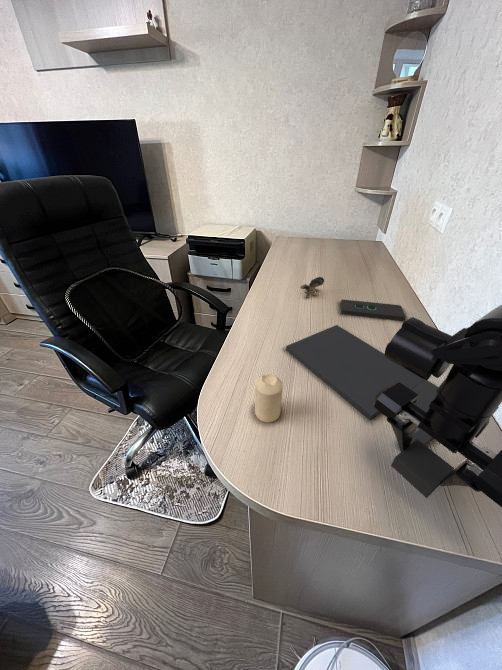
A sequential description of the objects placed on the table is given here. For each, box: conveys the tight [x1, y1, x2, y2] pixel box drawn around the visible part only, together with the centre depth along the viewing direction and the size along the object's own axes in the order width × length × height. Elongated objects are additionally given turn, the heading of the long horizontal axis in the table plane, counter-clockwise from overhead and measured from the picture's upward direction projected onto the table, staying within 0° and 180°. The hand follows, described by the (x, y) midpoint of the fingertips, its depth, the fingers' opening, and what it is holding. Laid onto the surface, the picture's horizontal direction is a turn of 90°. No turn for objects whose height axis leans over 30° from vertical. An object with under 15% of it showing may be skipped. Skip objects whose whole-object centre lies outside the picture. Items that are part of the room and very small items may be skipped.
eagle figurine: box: [299, 276, 325, 299], centre depth 105 cm, size 8×7×9 cm
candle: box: [254, 373, 284, 423], centre depth 57 cm, size 6×6×10 cm
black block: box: [390, 439, 455, 499], centre depth 44 cm, size 6×6×2 cm
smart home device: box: [340, 299, 406, 322], centre depth 95 cm, size 8×2×20 cm
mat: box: [285, 324, 439, 446], centre depth 69 cm, size 38×20×2 cm, turn 33°
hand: (421, 466), depth 44 cm, fingers closed on black block, 6 cm apart
